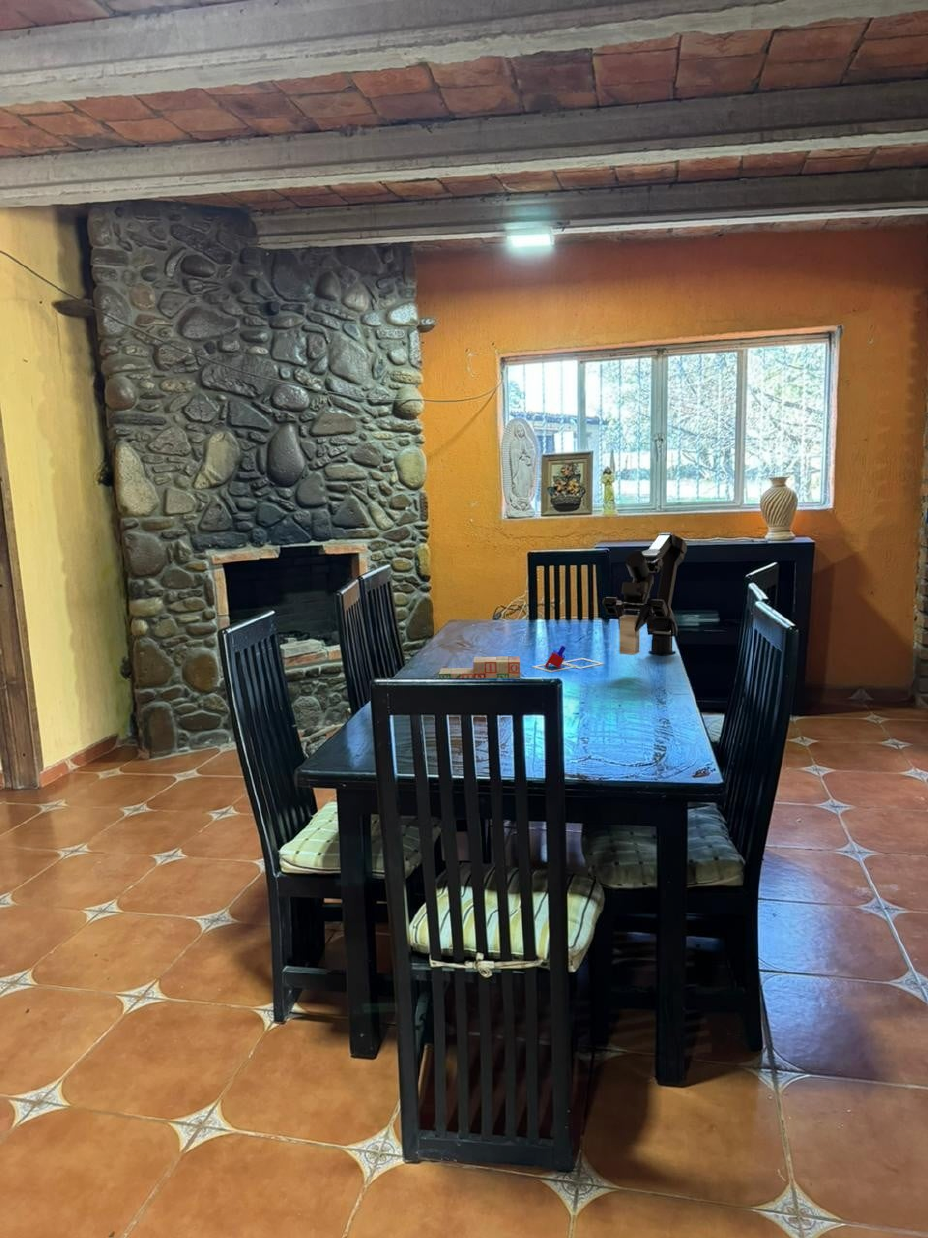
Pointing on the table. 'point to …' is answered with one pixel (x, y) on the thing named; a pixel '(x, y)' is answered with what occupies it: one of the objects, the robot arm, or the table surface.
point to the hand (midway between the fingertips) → (627, 630)
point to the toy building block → (556, 657)
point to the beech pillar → (628, 635)
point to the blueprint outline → (569, 665)
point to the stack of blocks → (486, 668)
